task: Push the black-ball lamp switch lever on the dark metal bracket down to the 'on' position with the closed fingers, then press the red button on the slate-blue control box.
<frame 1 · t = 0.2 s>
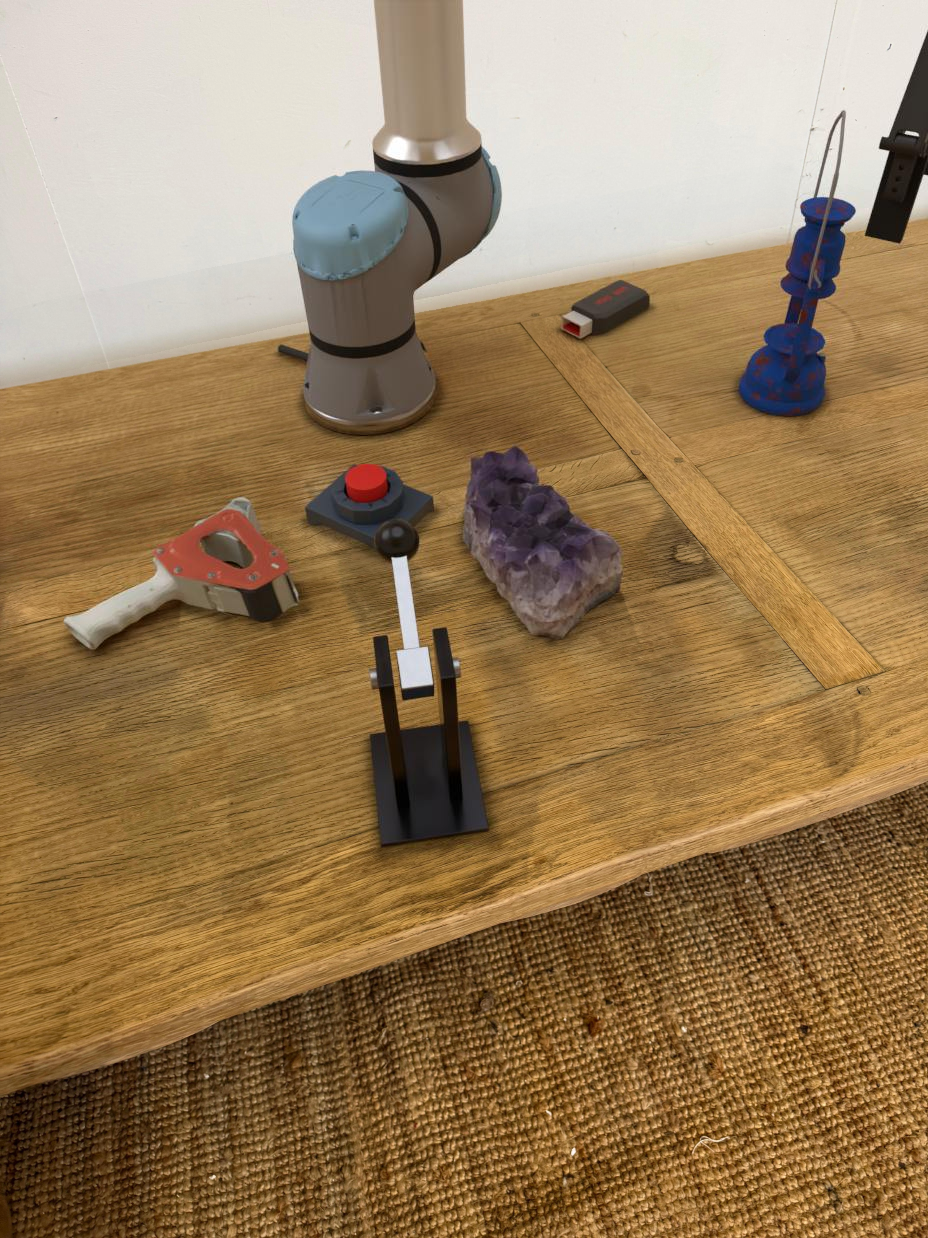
hand: (907, 204, 77), 28 cm above the table, tool pointing down, fingers open, 13 cm apart
button box: (371, 518, 95), on the table
tape dispenser: (203, 596, 88), on the table
switch lever: (405, 604, 64), point 16 cm above the table, hinge at 20.0°
usb drive: (602, 319, 120), on the table
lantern: (780, 393, 107), on the table
switch bracket: (427, 787, 73), on the table
button: (366, 483, 91), point 4 cm above the table, slide at 0.1 cm
geode: (526, 569, 89), on the table
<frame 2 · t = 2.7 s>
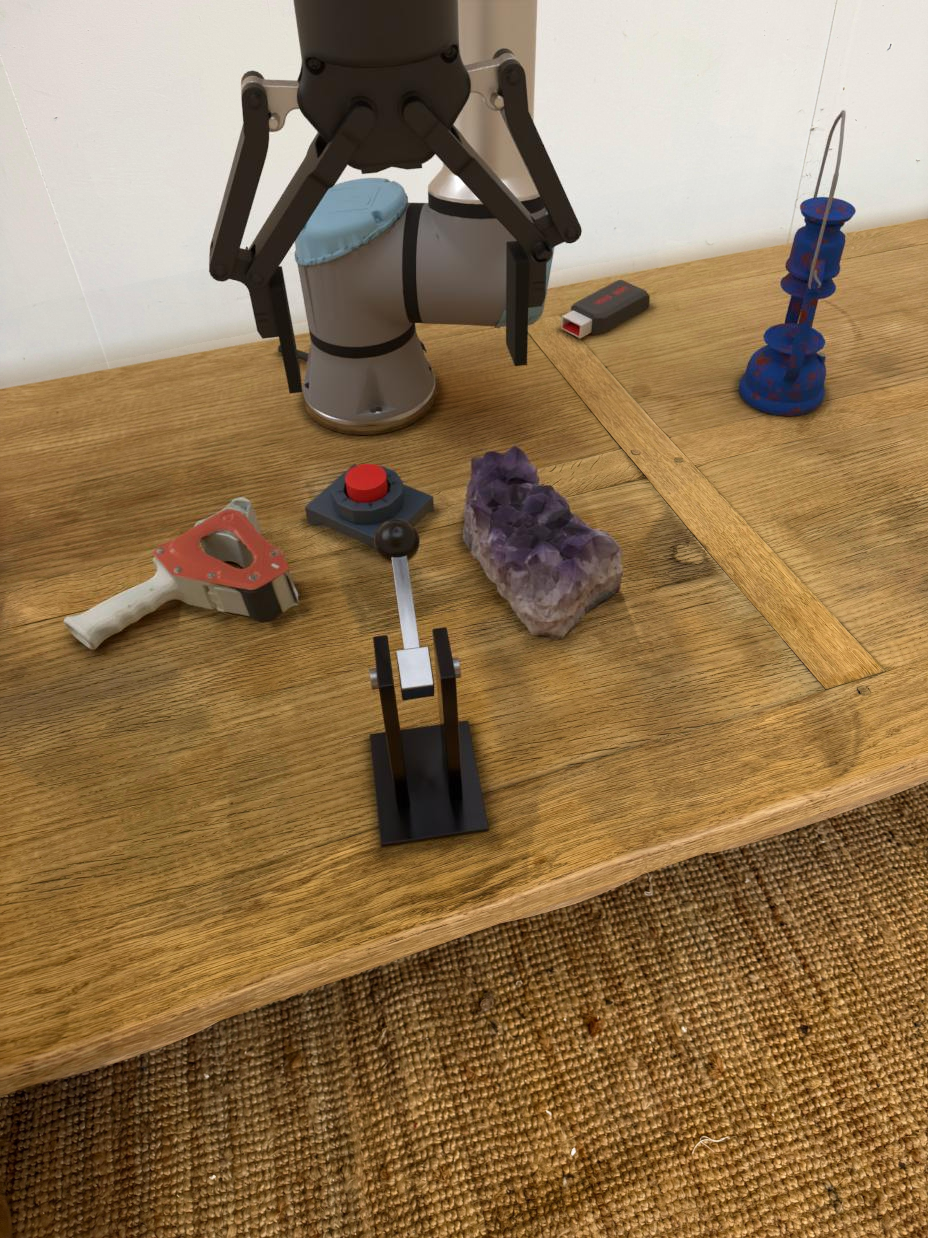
hand: (406, 367, 57), 31 cm above the table, tool pointing down, fingers open, 13 cm apart
nothing on the table moved.
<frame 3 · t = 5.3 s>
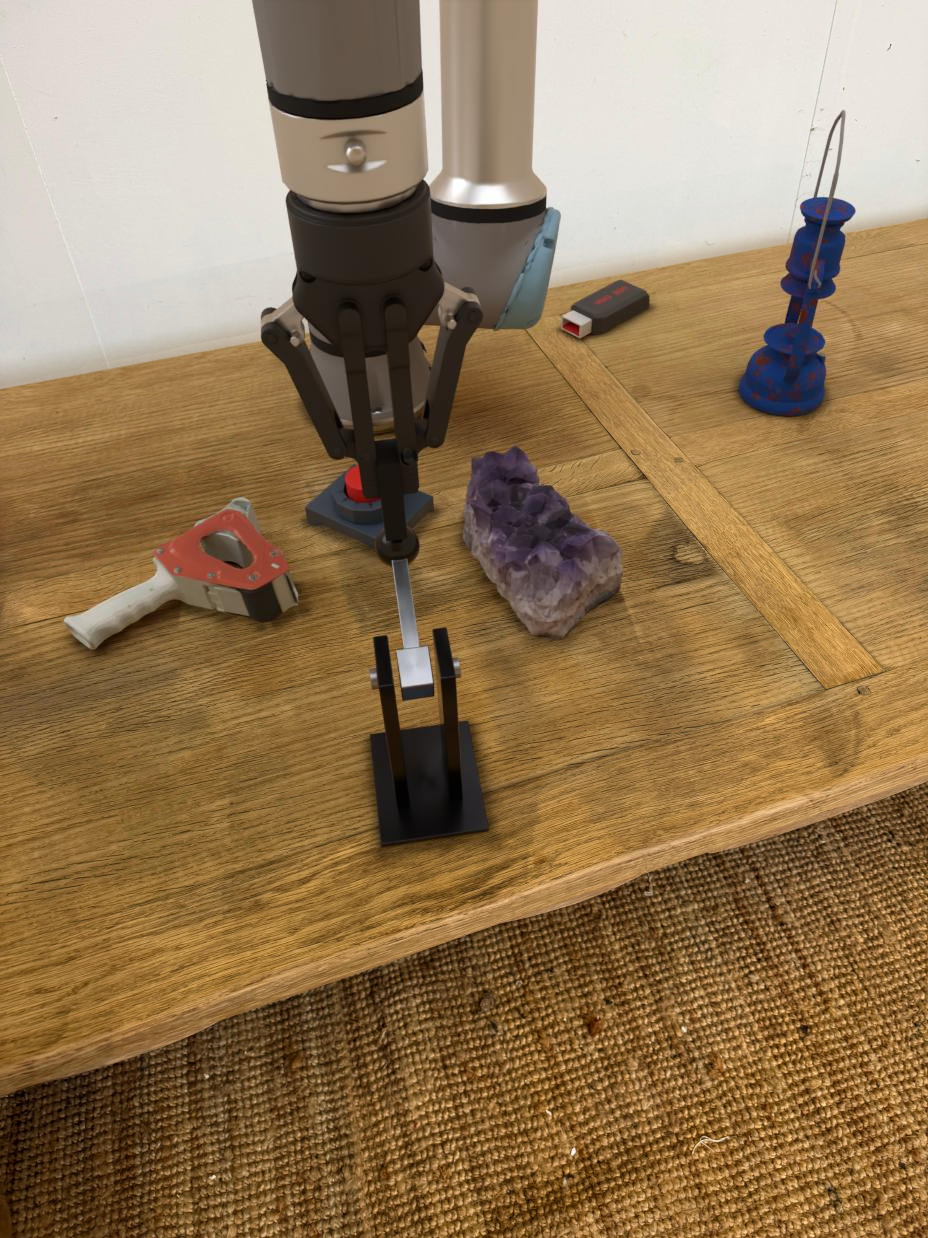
hand: (394, 526, 65), 19 cm above the table, tool pointing down, fingers closed
switch lever: (405, 606, 65), point 15 cm above the table, hinge at 16.5°
everything else where it was.
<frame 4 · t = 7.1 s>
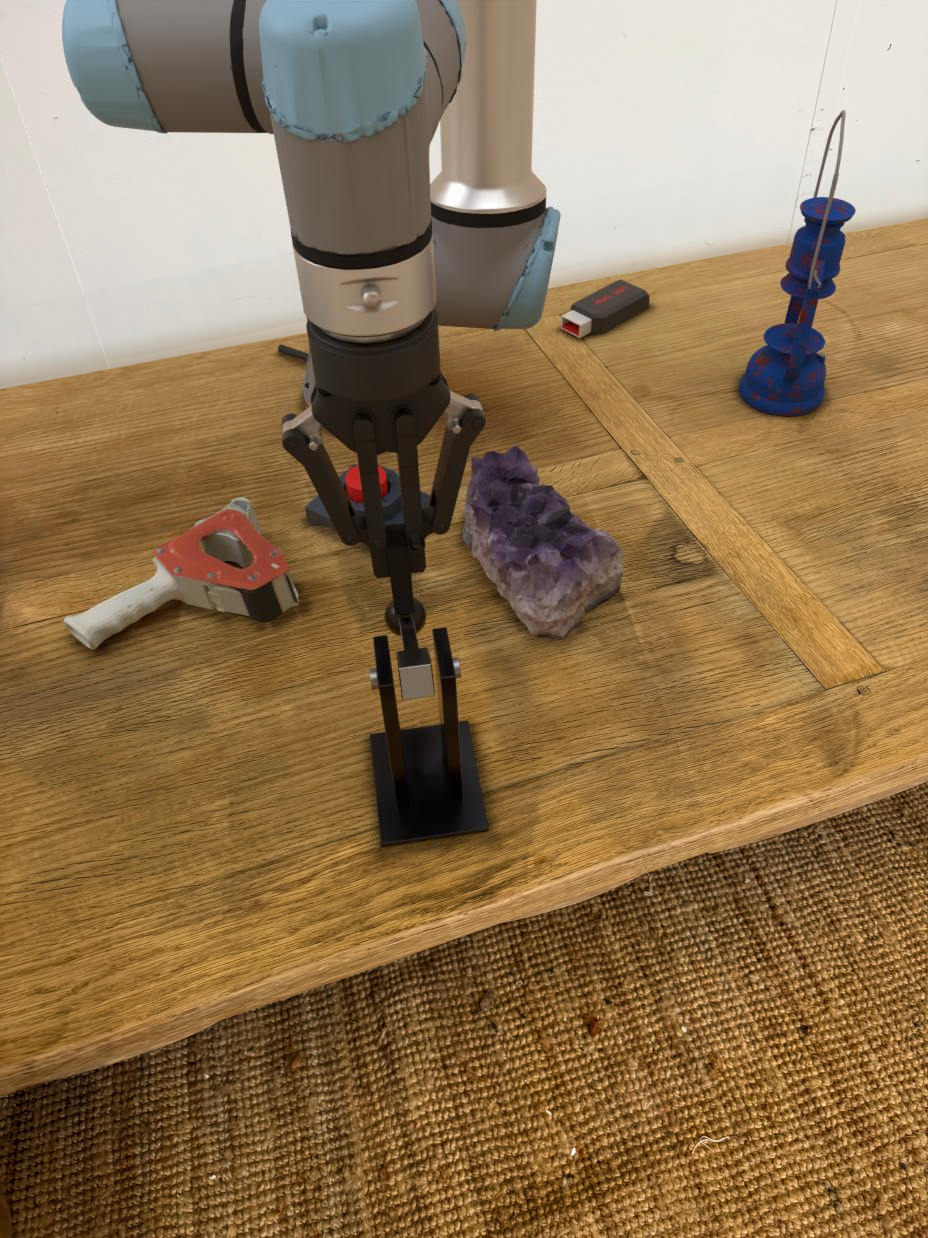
hand: (403, 600, 70), 12 cm above the table, tool pointing down, fingers closed
switch lever: (409, 642, 67), point 12 cm above the table, hinge at -24.3°, touching gripper
everything else where it was.
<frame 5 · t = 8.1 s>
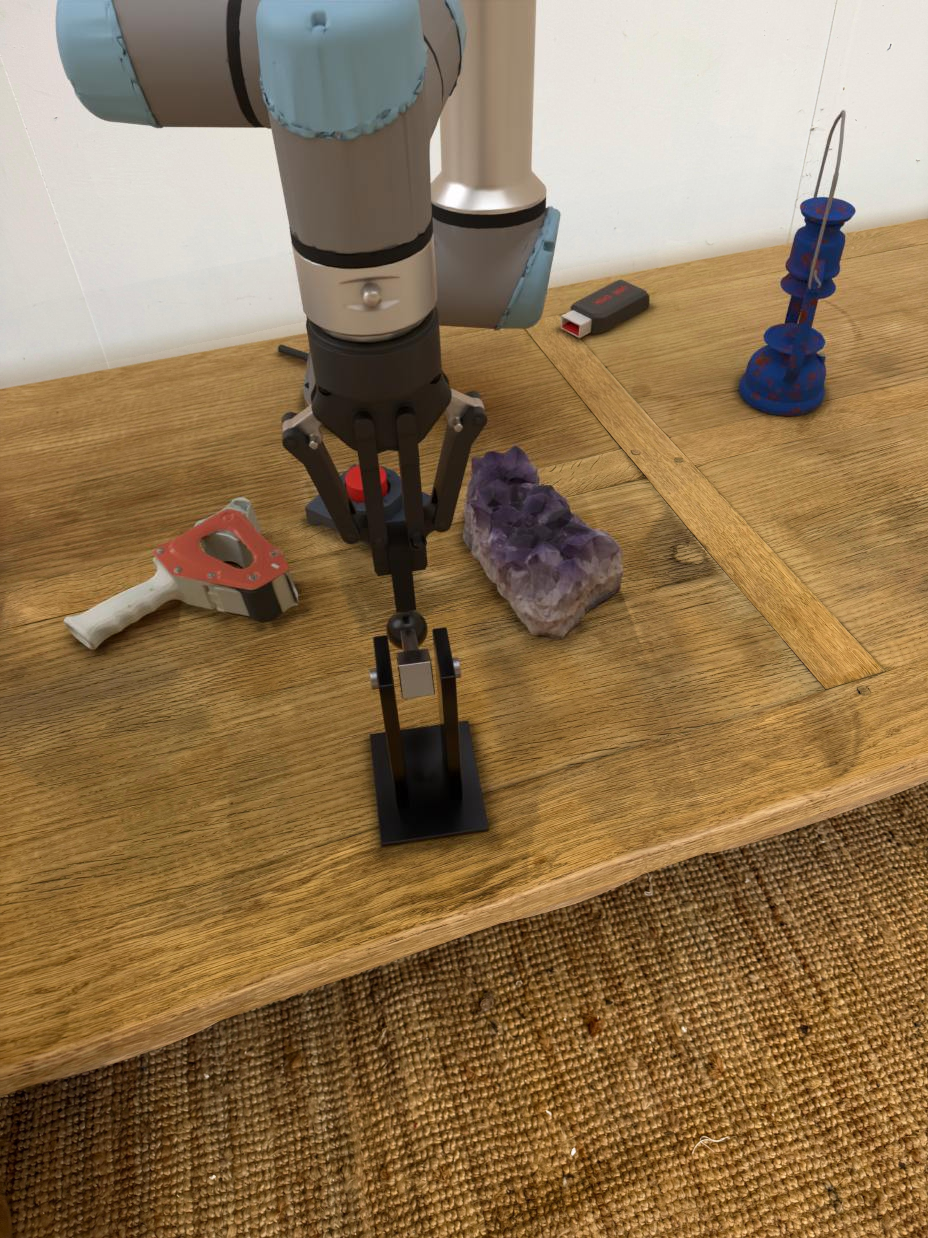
hand: (404, 598, 70), 12 cm above the table, tool pointing down, fingers closed
switch lever: (410, 649, 67), point 11 cm above the table, hinge at -30.5°
everything else where it was.
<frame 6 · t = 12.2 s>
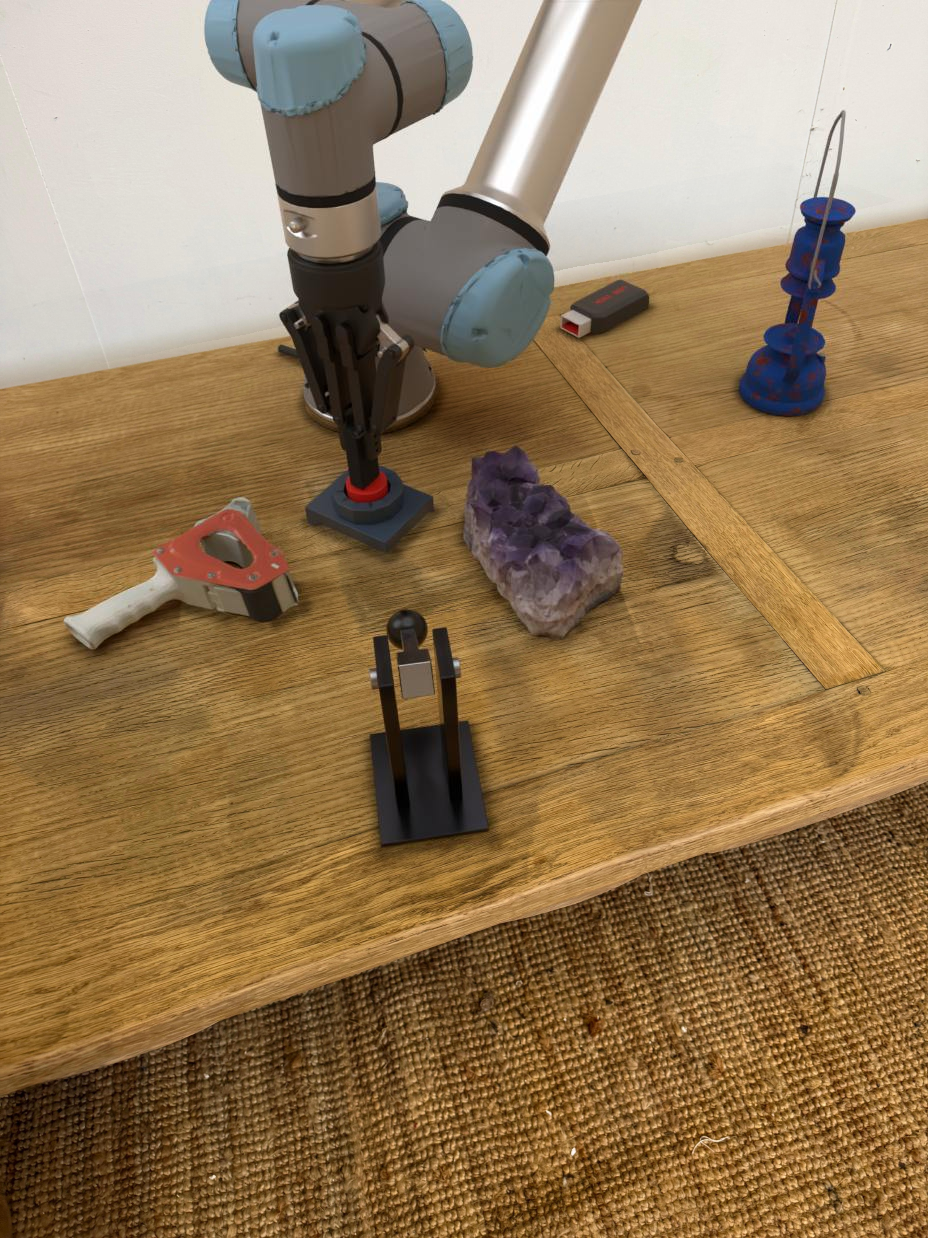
hand: (365, 479, 91), 5 cm above the table, tool pointing down, fingers closed
button: (367, 488, 92), point 4 cm above the table, slide at -0.5 cm, touching gripper
everything else where it was.
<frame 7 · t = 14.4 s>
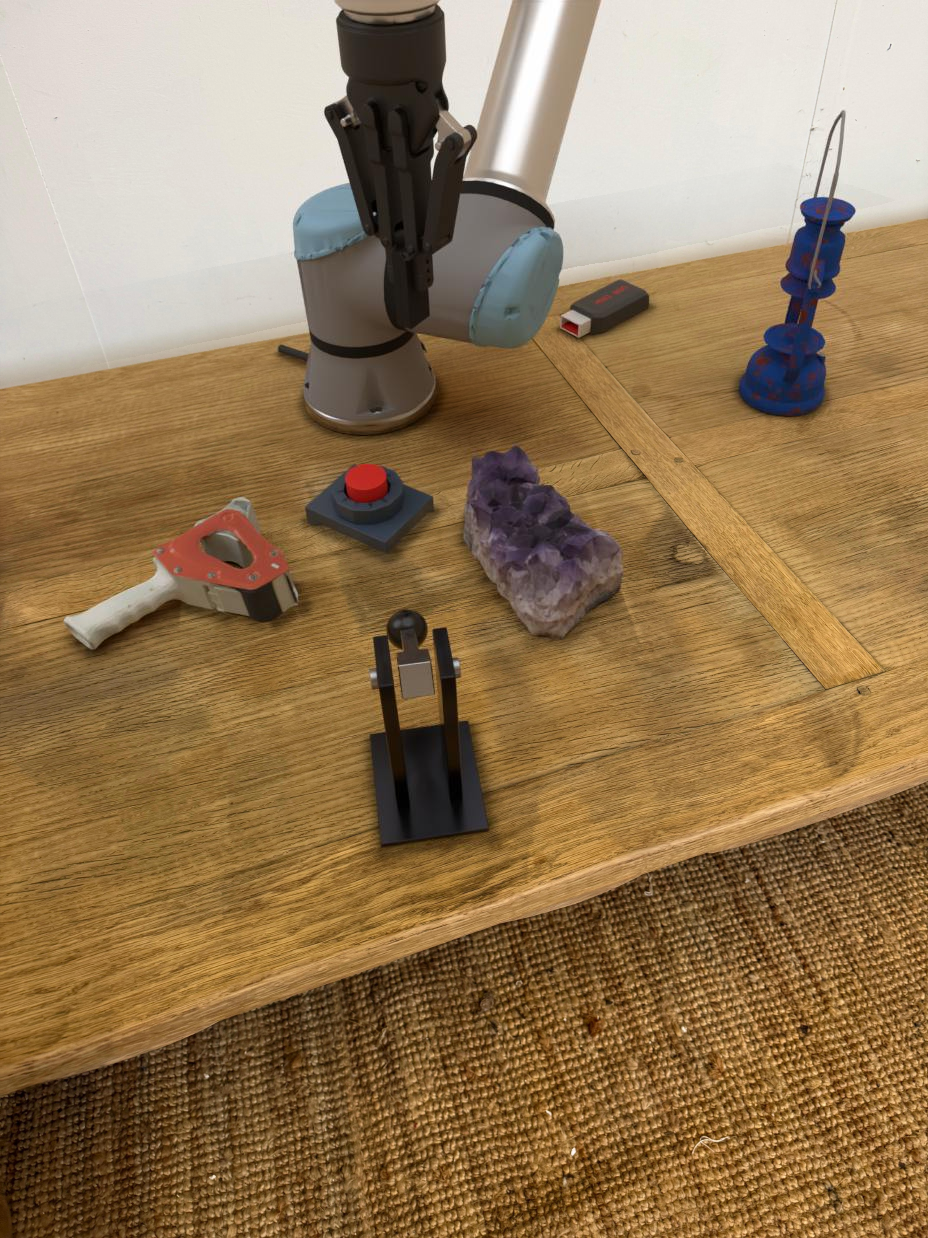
hand: (413, 319, 82), 20 cm above the table, tool pointing down, fingers closed
button: (366, 483, 91), point 4 cm above the table, slide at 0.1 cm
everything else where it was.
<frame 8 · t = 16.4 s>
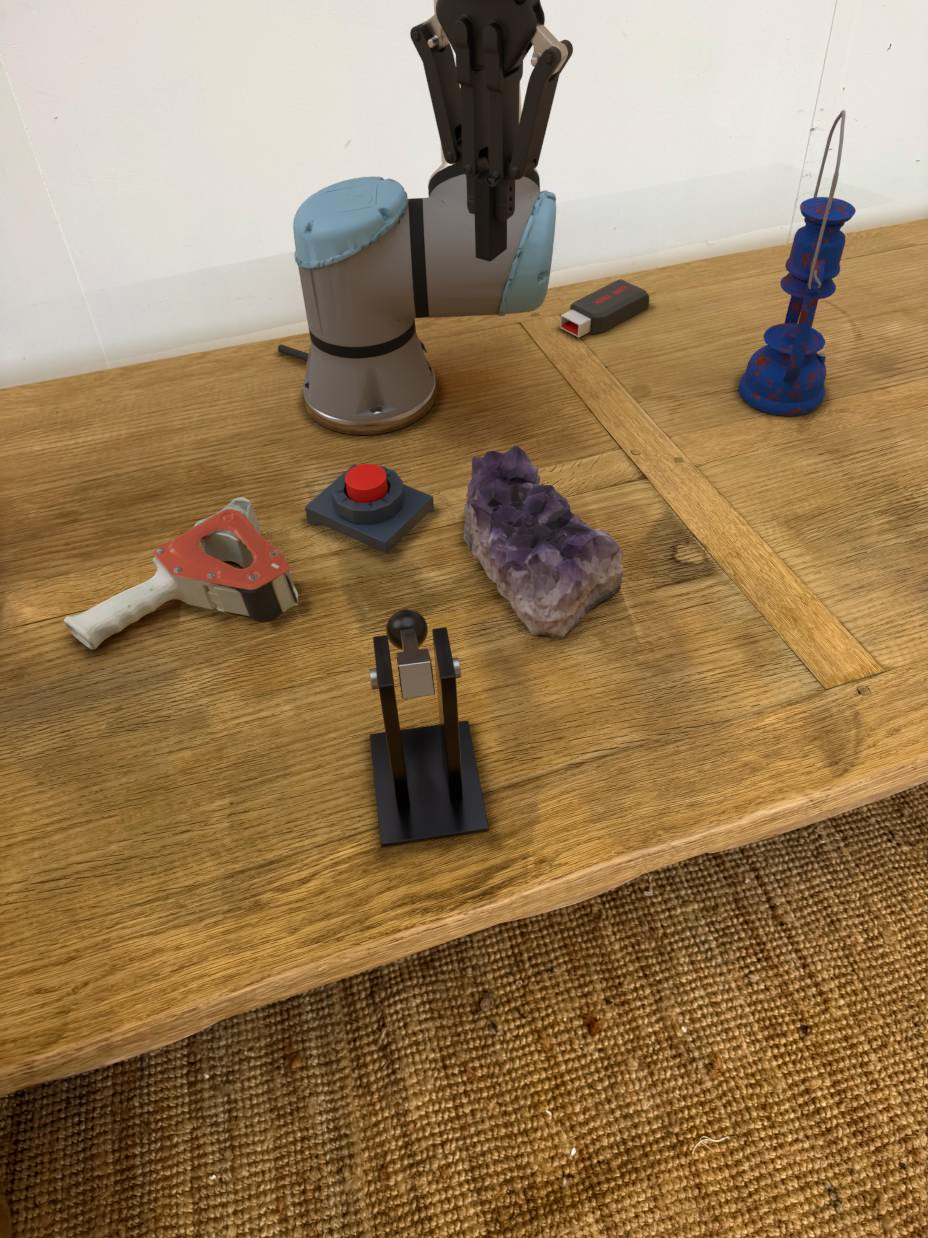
hand: (491, 252, 81), 24 cm above the table, tool pointing down, fingers closed
nothing on the table moved.
at the end: switch lever at -30° (first picture: +20°); button pushed in 1.0 cm at the most during the clip, back to where it started at the end; button slide at 0.1 cm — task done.
